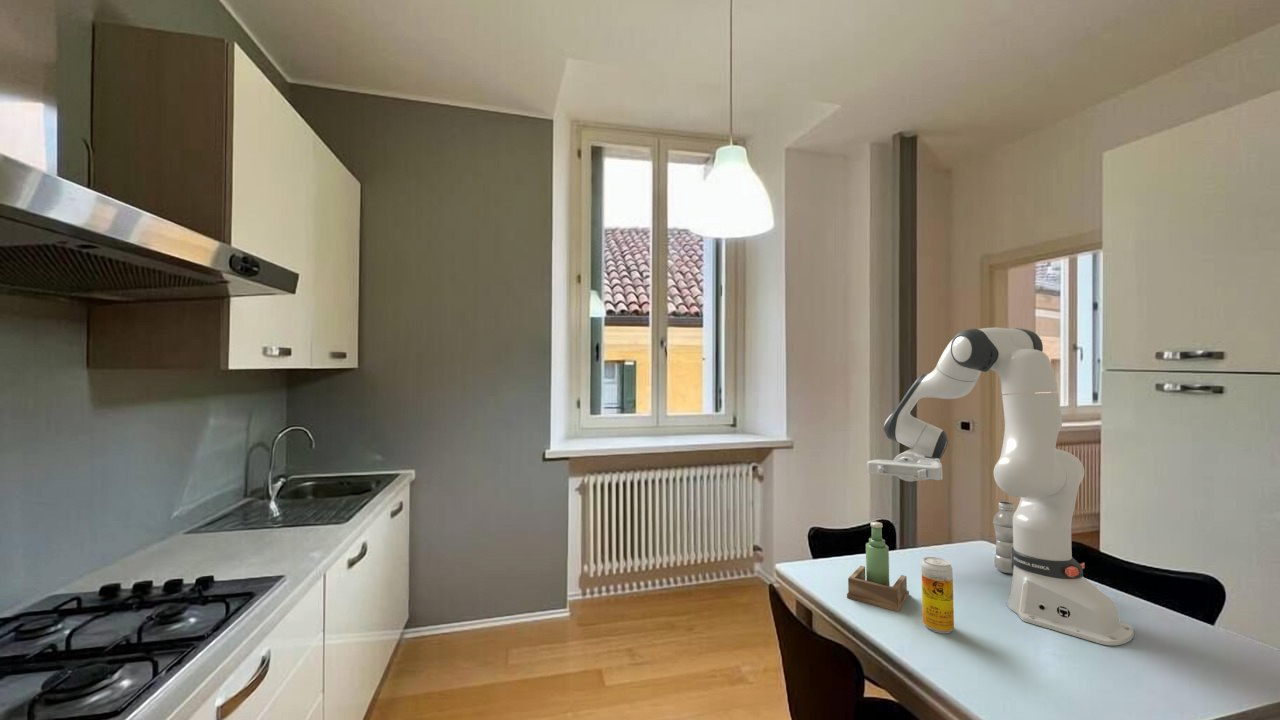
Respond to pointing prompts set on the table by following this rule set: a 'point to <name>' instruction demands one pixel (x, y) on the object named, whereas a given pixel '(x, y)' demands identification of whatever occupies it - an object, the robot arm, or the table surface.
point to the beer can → (937, 594)
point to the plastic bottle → (1004, 536)
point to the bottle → (877, 557)
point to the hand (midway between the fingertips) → (898, 473)
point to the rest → (877, 591)
